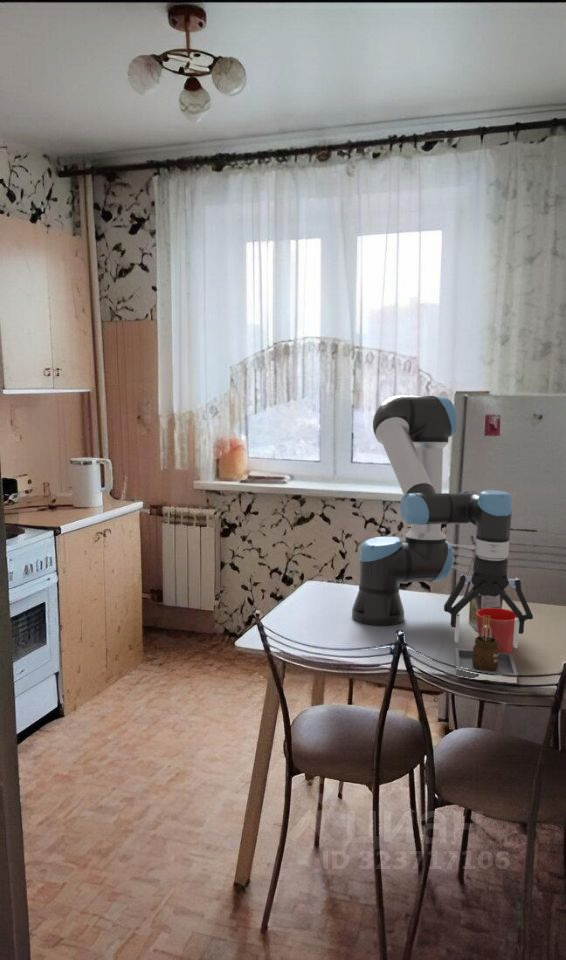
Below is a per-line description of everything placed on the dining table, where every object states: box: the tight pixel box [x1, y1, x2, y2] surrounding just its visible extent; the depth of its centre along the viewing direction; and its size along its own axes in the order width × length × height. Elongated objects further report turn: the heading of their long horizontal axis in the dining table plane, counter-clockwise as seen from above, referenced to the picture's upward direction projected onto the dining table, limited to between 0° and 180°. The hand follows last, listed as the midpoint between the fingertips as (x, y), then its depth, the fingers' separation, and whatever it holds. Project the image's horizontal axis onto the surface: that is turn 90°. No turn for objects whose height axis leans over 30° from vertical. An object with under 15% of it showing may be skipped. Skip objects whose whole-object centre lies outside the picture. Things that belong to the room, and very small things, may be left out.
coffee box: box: [468, 568, 504, 632], centre depth 195 cm, size 9×6×16 cm
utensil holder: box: [472, 615, 499, 671], centre depth 166 cm, size 6×6×12 cm
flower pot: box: [476, 608, 518, 654], centre depth 179 cm, size 11×11×10 cm
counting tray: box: [454, 647, 519, 678], centre depth 167 cm, size 14×14×2 cm
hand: (485, 643), depth 166 cm, fingers open, 13 cm apart
